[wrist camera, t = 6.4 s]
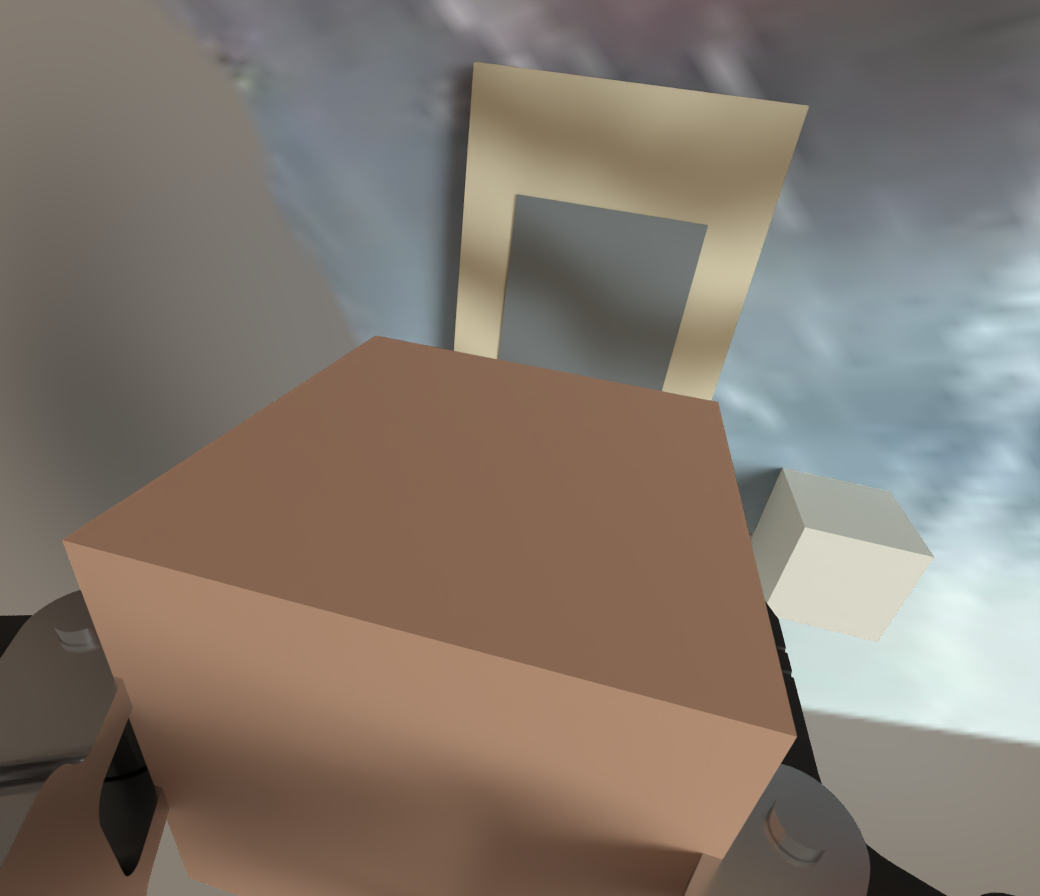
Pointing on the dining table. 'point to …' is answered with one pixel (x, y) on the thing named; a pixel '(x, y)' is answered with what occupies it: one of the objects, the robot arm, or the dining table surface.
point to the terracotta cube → (446, 636)
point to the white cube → (836, 554)
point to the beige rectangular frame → (614, 223)
